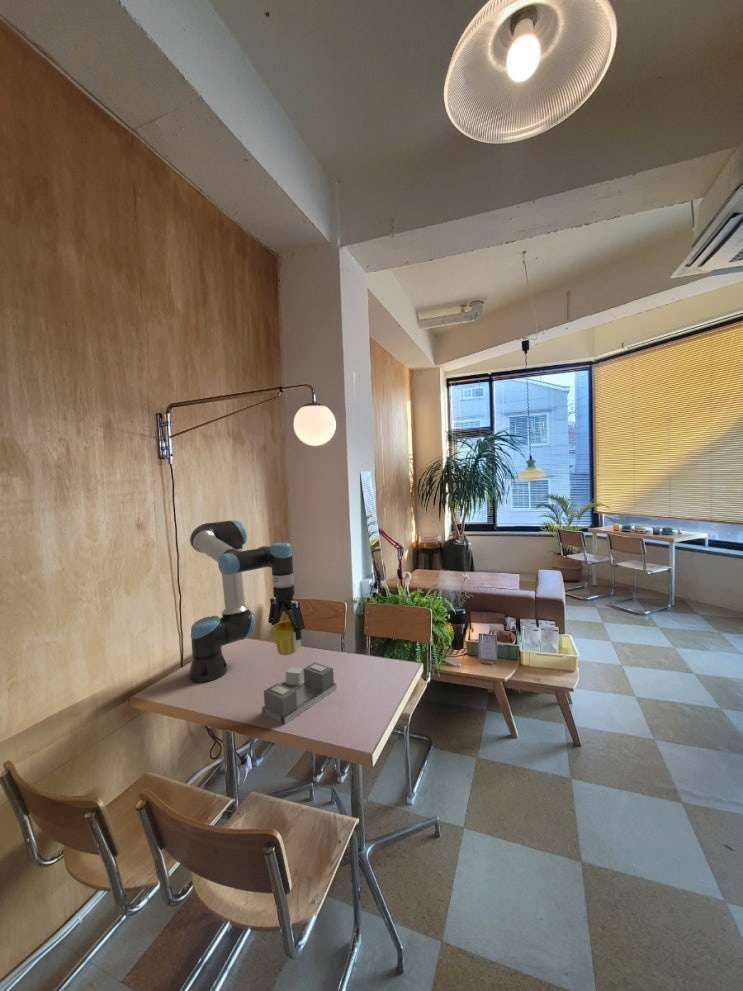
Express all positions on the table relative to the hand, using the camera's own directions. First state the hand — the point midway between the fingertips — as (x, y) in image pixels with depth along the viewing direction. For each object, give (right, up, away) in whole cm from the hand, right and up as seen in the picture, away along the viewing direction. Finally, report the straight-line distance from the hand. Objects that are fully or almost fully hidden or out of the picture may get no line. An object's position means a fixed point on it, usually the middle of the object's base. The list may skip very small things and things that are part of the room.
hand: (287, 645), depth 143 cm
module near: (-1, -19, -7) cm, 20 cm away
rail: (+5, -21, +1) cm, 21 cm away
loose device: (0, -20, +14) cm, 25 cm away
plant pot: (0, -2, 0) cm, 2 cm away
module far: (+10, -18, +8) cm, 22 cm away
